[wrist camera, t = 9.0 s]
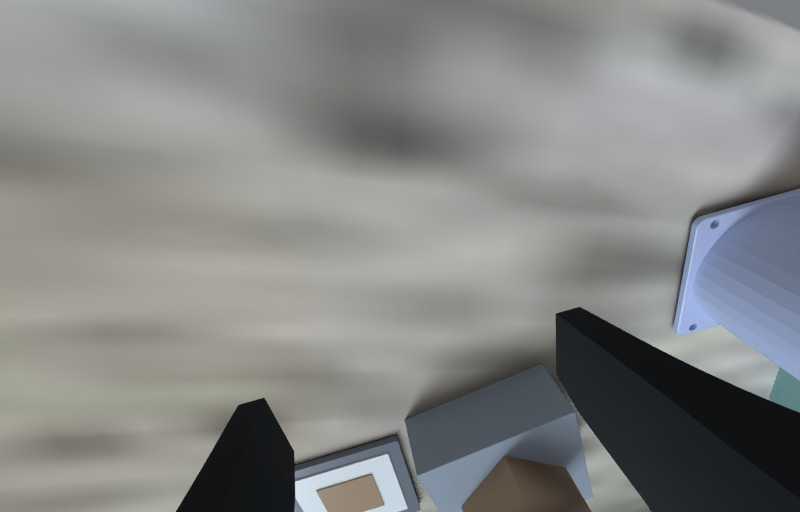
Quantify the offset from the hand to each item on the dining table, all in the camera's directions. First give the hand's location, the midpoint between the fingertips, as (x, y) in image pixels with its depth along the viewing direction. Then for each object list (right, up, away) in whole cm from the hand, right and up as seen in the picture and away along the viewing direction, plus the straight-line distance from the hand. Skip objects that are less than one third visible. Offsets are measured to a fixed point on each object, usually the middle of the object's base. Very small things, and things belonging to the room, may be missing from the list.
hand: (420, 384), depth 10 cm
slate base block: (+5, -9, +17) cm, 20 cm away
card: (-4, -12, +17) cm, 21 cm away
